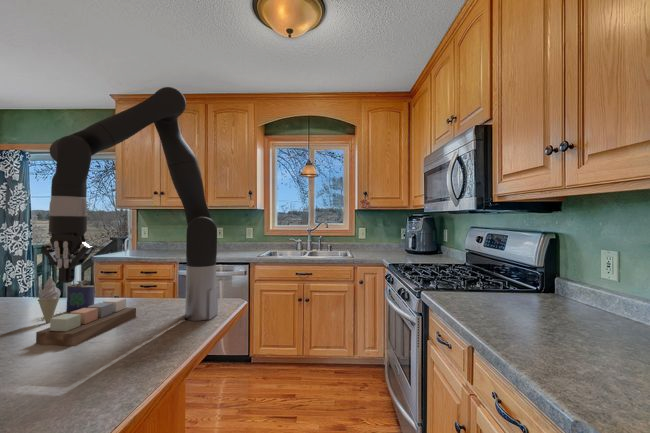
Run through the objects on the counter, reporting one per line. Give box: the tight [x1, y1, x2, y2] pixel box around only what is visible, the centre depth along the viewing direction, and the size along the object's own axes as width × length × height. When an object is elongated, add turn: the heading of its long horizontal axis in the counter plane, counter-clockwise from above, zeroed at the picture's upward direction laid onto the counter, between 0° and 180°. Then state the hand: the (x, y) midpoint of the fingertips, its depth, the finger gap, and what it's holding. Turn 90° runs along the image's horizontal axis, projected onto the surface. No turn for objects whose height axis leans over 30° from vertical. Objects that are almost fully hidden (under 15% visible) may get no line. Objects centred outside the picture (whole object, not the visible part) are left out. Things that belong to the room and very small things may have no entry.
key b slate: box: [88, 302, 113, 318], centre depth 90 cm, size 4×4×3 cm
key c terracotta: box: [69, 308, 98, 324], centre depth 84 cm, size 4×4×3 cm
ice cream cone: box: [37, 275, 61, 324], centre depth 92 cm, size 5×5×15 cm
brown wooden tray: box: [34, 306, 139, 348], centre depth 87 cm, size 11×23×4 cm, turn 175°
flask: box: [65, 280, 96, 313], centre depth 106 cm, size 9×3×11 cm, turn 88°
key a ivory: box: [102, 297, 127, 312], centre depth 95 cm, size 4×4×3 cm
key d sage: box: [49, 313, 81, 332], centre depth 79 cm, size 4×4×3 cm
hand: (66, 282), depth 79 cm, fingers closed
